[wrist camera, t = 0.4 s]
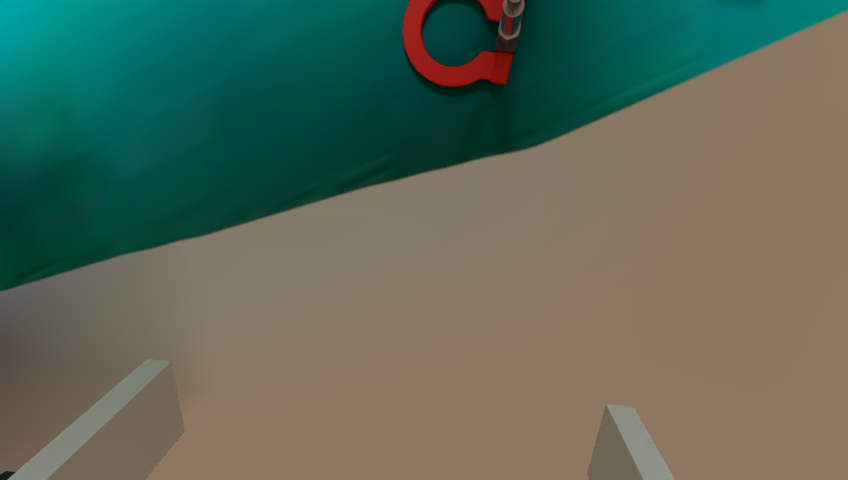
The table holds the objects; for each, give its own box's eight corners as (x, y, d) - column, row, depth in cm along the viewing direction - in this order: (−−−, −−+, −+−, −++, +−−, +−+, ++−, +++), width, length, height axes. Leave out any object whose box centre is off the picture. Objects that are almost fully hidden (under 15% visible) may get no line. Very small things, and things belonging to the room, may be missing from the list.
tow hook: (398, 78, 35) (504, 97, 34) (346, 54, 22) (511, 84, 21) (414, -34, 32) (530, -16, 31) (366, -128, 20) (554, -104, 19)
